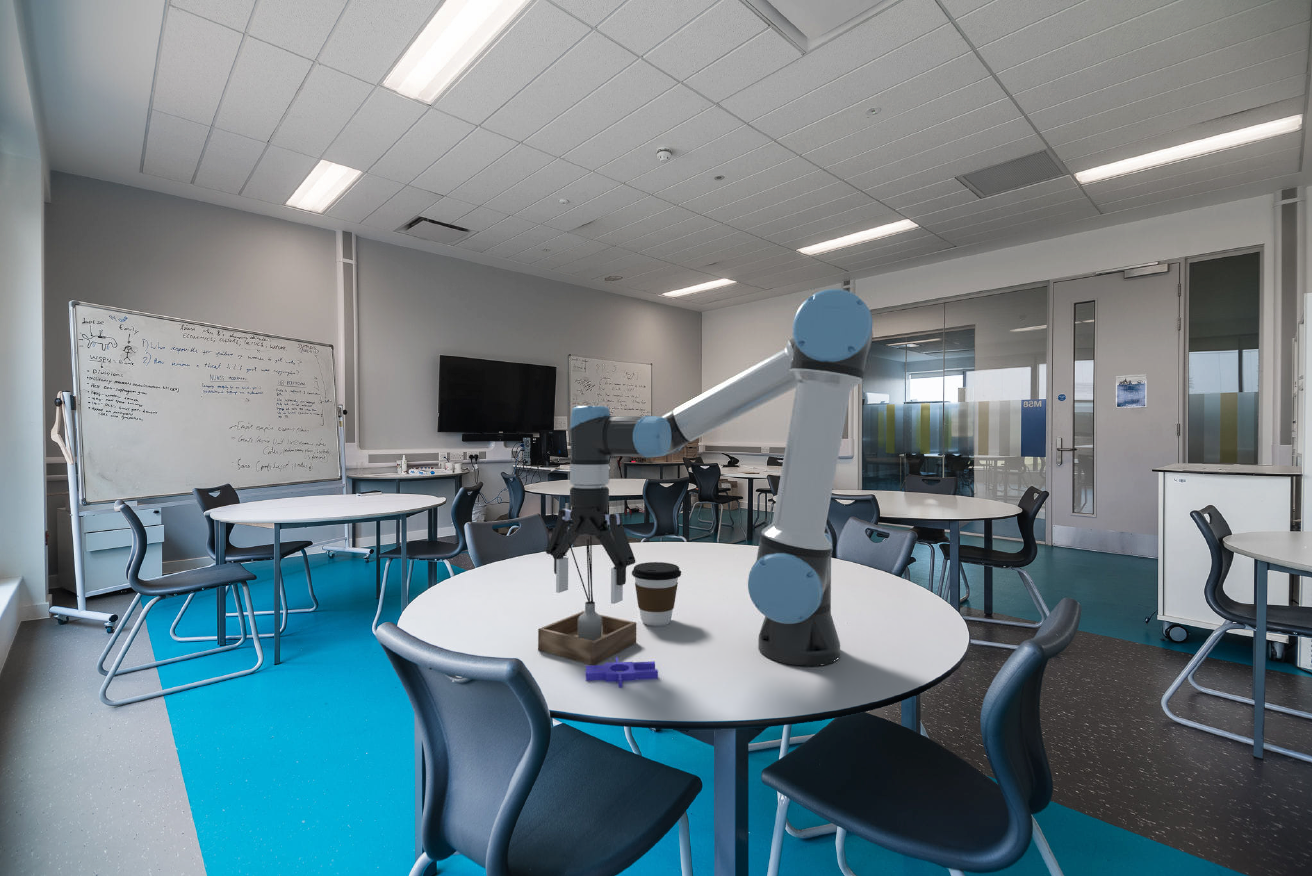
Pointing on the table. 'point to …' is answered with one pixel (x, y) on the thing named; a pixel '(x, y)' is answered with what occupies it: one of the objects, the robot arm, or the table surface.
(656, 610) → the coffee cup
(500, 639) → the table surface
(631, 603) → the table surface
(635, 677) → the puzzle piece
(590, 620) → the reed diffuser
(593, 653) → the tray
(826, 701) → the table surface
